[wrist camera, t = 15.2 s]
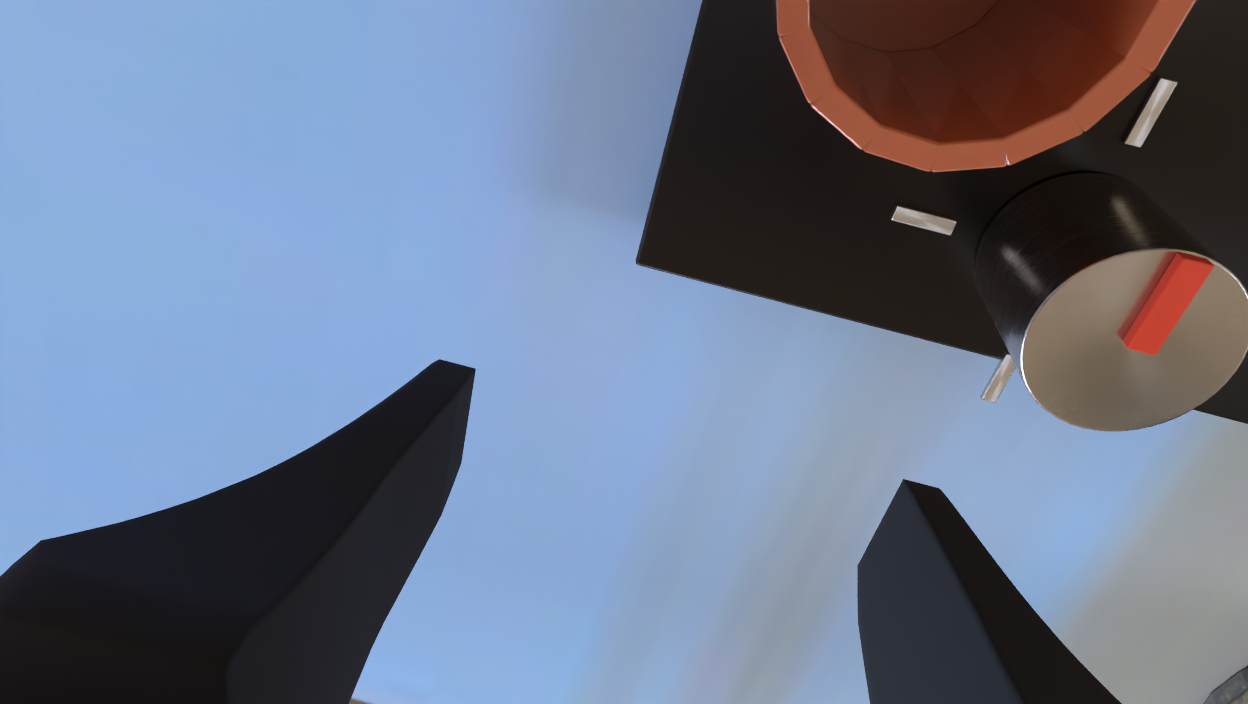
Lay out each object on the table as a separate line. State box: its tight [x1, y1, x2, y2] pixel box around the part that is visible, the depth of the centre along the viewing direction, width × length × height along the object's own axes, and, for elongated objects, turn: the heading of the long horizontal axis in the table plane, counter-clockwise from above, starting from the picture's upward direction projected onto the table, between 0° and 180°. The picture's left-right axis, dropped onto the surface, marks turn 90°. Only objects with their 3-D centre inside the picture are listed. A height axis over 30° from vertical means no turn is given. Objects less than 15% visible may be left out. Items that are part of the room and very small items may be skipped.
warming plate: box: [636, 0, 1248, 424], centre depth 19 cm, size 16×13×3 cm
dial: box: [975, 173, 1248, 431], centre depth 18 cm, size 4×4×4 cm
